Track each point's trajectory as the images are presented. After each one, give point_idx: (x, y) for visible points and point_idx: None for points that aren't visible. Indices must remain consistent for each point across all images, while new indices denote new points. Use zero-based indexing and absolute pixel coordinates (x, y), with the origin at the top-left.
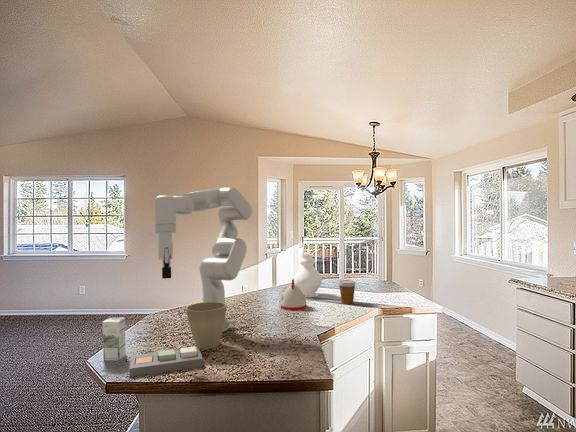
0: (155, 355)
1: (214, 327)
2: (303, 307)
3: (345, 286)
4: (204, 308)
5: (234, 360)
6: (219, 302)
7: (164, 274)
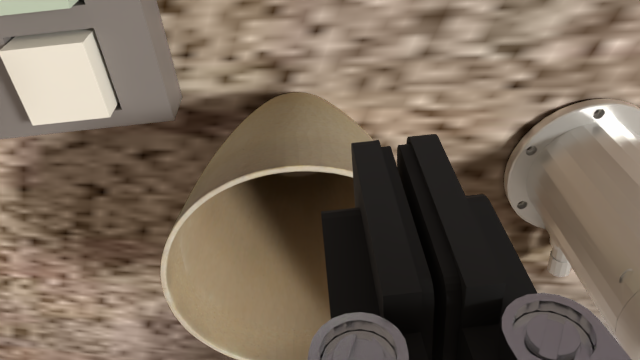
0: None
1: (210, 239)
2: None
3: None
4: None
5: (117, 223)
6: None
7: (347, 222)
